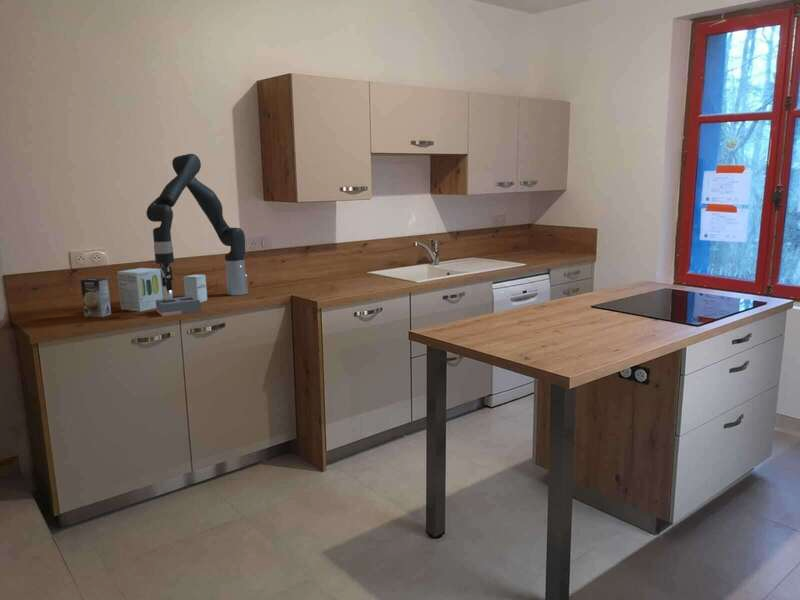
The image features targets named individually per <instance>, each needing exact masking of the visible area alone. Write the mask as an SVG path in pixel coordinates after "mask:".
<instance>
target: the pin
mask: <svg viewBox="0 0 800 600" xmlns="http://www.w3.org/2000/svg"><path fill="white" fill-rule="evenodd" d="M162 294H163V301H164V303H166V302H173V298H174V295H173V294H174V293H173V289H172V290H171V291H167V288H166V286H163V285H162Z"/></svg>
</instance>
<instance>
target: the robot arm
mask: <svg viewBox="0 0 800 600" xmlns="http://www.w3.org/2000/svg"><path fill="white" fill-rule="evenodd" d="M171 164H172V168H173V170H174V173H175V174H176V176H175V177H173V179H171V180H170V181H169V182H168V183H167V184H166V185H165V186H164V187H163V190H162V191H161V193H160V195H159V196H158V197H157V198H156V199H154V200H153V201H152V202H151V203H150V204H149V205H148V207H147V209H146V217H147V219H148V221H150V222H152V223H153V222H155V223H156V222H159V223H160V225H159V226H158V227H155V228H154V229H152V237H153V251H154V261H155V264H157V265H158V266H159V269H160V275H161V276H160V277H161V283H162V286H166V288H167V291H171V290H172V291H173V283H172V282H173V280H174V279H173V271H172V270H173V269H172V266H170V264H172V263H174V262H175V256H174V248H173V247H174V246H173V243H172V233H171V230H172V229H171V228H172V224H173V223H172V222H173V219H174V218H173V217H174V212H173V209H172V207H174V206H175V205H176V204H177V201H178V200H179V198H180V196H181V194H182V193H183V191H184V190H185V189H186V188H187V189H188V190H189V192H190V193H191V195H192V196H193V198H194V199H195V200H196V202H197V204H198V206H199V207H200V209H201V210H202V211H203V212H204V214H205V216H206V218H207V219H208V220H209V223H210V224H211V226H212V227H213V229H214V230H215V233H216V234H217V237H218V238H219V241H220V242H221V243H222V245H224V246H226V247H230V251H229V252H228V253H226V254H225V255H224V260H225V276H226V285H227V295H228V296H241V295H242V296H243V295H247V294H249V290H248V277H247V276H248V275H247V274H246V265H245V255H246V236H245V232H244V230H243V229H241V228H239V227H230V226H229V225H228V224H227V222H226V220H225V218H224V216H223V213H224V212H223V205H222V202H221V201H220V199H219V198H218V196H217V194H216V192H215V191H214V190H212V189H211V188H210V187H208V186H207V185H205V184H203V183H202V182H201V181H199V179H197V178H196V175H197V174H198V173H199V172H200V170H201V168H202V166H201V165H202V163H201V159H200V158H199V156H197V155H196V154H194V153H186V154H183V155H178V156H175V157H173V159H172V162H171Z"/></svg>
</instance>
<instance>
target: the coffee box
mask: <svg viewBox="0 0 800 600" xmlns="http://www.w3.org/2000/svg"><path fill="white" fill-rule="evenodd" d="M80 286H81V293H82V294H81V295H82V303H83V304H82V305H83V312H84V313H83V315H84V317H88V318H91V317H93V318H104V317H107V316H111V315H112V310H111V300H110V289H109V280H108V278H107V277H105V278H104V277H89V278H83V279H80Z"/></svg>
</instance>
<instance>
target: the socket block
mask: <svg viewBox="0 0 800 600" xmlns="http://www.w3.org/2000/svg"><path fill="white" fill-rule="evenodd" d="M155 309H156V312H157V313H158V314H159V315H160V316H161V317H168V316H175V315H176V316H177V315H184V314H192V313H193V314H194V313H200V312H202V309H201V302H200V300H199V299H197V298H195V297H194V296H187V297H185V296H181V297H179V296H178V297H173V302H166V303H164V301H163V299H160V300H156V308H155Z"/></svg>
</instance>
